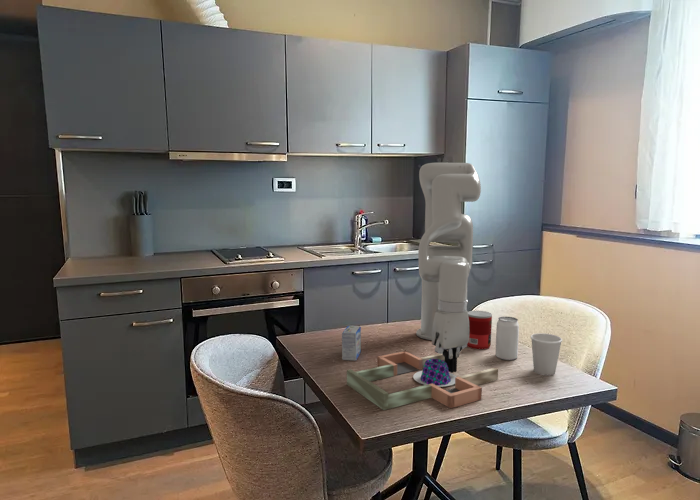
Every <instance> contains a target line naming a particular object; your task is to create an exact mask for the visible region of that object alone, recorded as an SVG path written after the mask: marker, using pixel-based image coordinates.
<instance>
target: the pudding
mask: <svg viewBox="0 0 700 500" xmlns="http://www.w3.org/2000/svg"><path fill="white" fill-rule="evenodd" d="M456 377H457V375H456V374H454V373H450V372H449V370H448V366H447V363H446V362H445V361H444V360H440V359H430V360H426V362H425V364H424V368H423V369H422V370H418V371H416V373H414V374H413V375H412V378H413V380H414V381H416V382H417V383H418V384H420V385H423V386H424V385H428V384H432V383H433V384H434V385H436V386H438V387H440V388H441V387H442V388H443V387H450V386H454V385H455V378H456Z"/></svg>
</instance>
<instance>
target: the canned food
mask: <svg viewBox="0 0 700 500" xmlns="http://www.w3.org/2000/svg"><path fill="white" fill-rule="evenodd" d="M468 317H469V342H468V343H467V347H468V348H470V349H473V350H488V349H490V347H491V344H492V326H493V325H492V324H493V322H492V321H493V314H492V313H491V312H489V311H486V310H470V311H468Z"/></svg>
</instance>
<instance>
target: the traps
mask: <svg viewBox="0 0 700 500" xmlns="http://www.w3.org/2000/svg"><path fill="white" fill-rule="evenodd" d="M421 358H422V357H418V356H416V355H414V354H412V353H410V352H409V351H406V350H404V351H399V352H393V353H389V354H384V355H383V354H382V355H379V356H377V358H376V360H377V361H376V366H377V367H380V366H385V365H390V364H392V365H394V376H393V377H395V376H399V375H404V374H408V373H412V372H418V371H423V369H422V361H423V359H421ZM429 385H431V386H432V391H431V398H430V399H433V400H434V401H437V402H438V403H441V405H444V406H446V407H448V408H449V409H453V408H457V407H460V406H463V405H467V404H470V403H474V402H477V401H480V400H482V396H483V395H482V391H483V388H482V387H481V386H479V385H475V384H473V383H471V382H469V381H467V380H465V379H463V378H460V376H456V378H455V384H454V388H450V389H446V390H445V389H443V387H442V388H441V387H438V386H436V385H434V384H433V383H432V384H429Z"/></svg>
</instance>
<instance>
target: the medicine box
mask: <svg viewBox="0 0 700 500" xmlns="http://www.w3.org/2000/svg"><path fill="white" fill-rule="evenodd" d="M361 339H362V327H361V326H359V325H347V326H346V327H345V328H344V329H343V331H342V332H341V359H342V361H351V362H352V361H354V362H356V361H357V360H358V358H359V356H360V354H361V351H362V350H361V349H362V348H361V347H362V346H361V345H362V340H361Z"/></svg>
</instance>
